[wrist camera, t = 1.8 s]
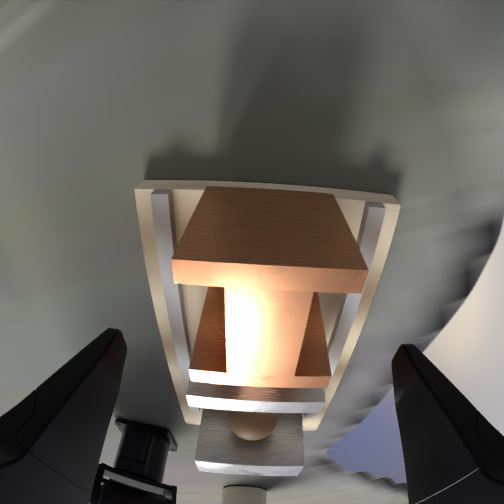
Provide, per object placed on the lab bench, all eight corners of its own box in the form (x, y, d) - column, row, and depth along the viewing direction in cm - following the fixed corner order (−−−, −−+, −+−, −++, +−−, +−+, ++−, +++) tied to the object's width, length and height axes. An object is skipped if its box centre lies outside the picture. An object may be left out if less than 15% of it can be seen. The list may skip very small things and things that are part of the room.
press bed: (314, 419, 26) (316, 435, 24) (187, 412, 26) (184, 428, 24) (392, 195, 14) (406, 210, 12) (143, 180, 14) (129, 194, 12)
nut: (275, 408, 22) (275, 448, 19) (230, 406, 22) (225, 445, 19) (280, 385, 20) (280, 429, 17) (229, 382, 20) (224, 426, 17)
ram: (314, 356, 18) (322, 435, 13) (200, 350, 18) (184, 428, 13) (353, 195, 12) (398, 271, 8) (185, 185, 12) (139, 256, 8)
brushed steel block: (296, 426, 24) (297, 475, 20) (206, 421, 24) (198, 470, 20) (301, 411, 22) (304, 466, 18) (203, 406, 23) (194, 460, 18)
